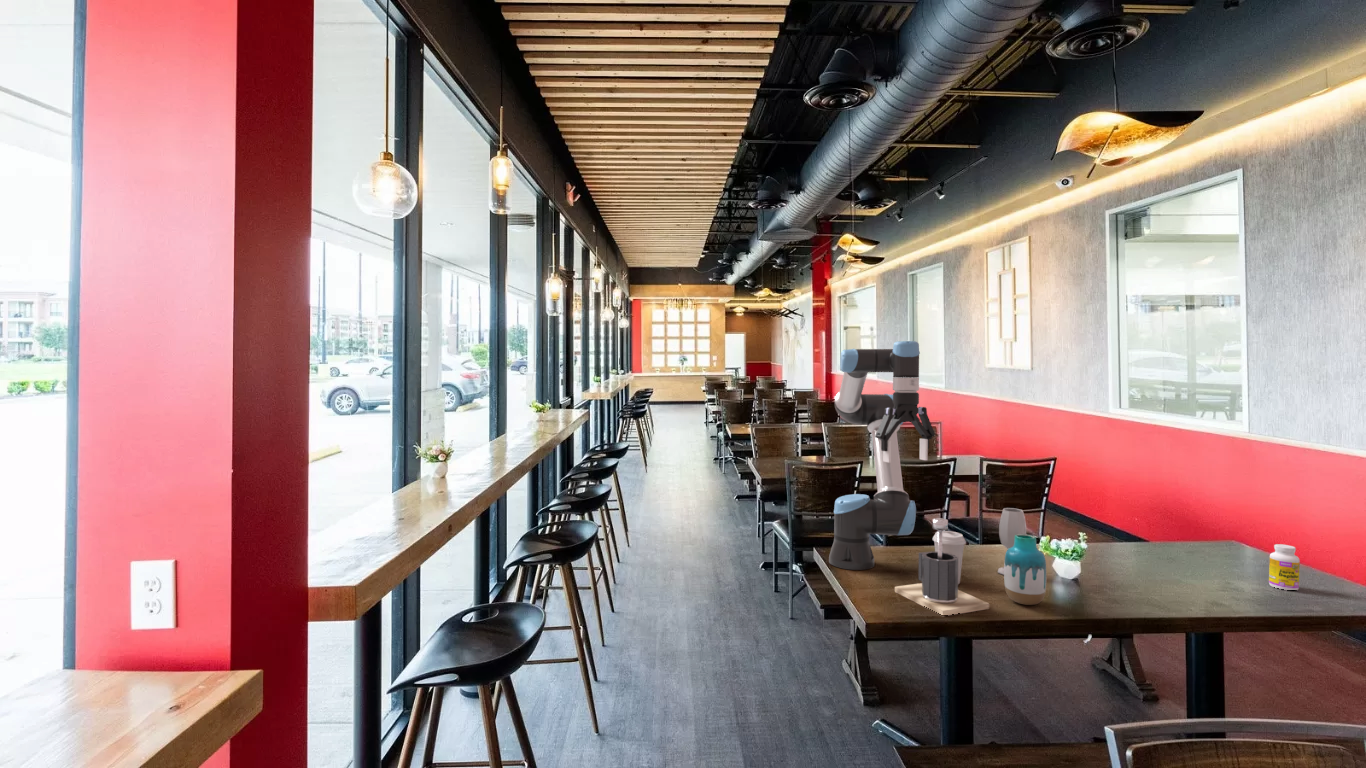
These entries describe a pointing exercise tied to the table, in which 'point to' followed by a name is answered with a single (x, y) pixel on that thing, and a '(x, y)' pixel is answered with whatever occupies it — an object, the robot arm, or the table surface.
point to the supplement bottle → (1284, 568)
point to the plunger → (940, 532)
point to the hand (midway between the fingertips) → (905, 461)
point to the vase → (1025, 571)
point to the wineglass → (1011, 527)
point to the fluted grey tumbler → (939, 577)
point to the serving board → (961, 606)
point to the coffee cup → (951, 546)
